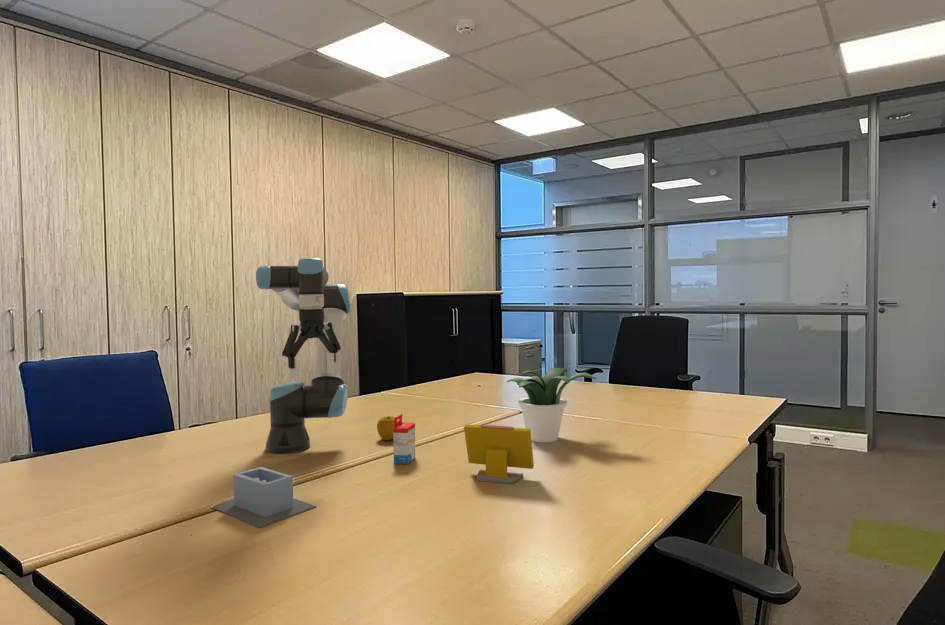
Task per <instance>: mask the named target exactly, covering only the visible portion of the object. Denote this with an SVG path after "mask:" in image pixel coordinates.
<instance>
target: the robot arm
mask: <svg viewBox="0 0 945 625" xmlns="http://www.w3.org/2000/svg"><path fill="white" fill-rule="evenodd" d="M323 262H324V261H323V259H322V258H314V257H313V258H307V257H306V258H305V257H304V258H303V257H301V258H300V259H298V261H297V265H270V264H269V265H261V266H259V267H257V269H256V271H255V272H256V273H255V281H256V285H257V288H259V289H260V290H272V291H273V292H274V293H276V295H278V296H279V297H280V298H281V301H282V302H283V304H284V305H285V306H286V307H288V308H289V309H291V310H294V311H296V312H298V318H299V320H298V321H299V322H300V323H299V325H297V324H291V325H290V332H289V334H288V337H287V338H286V342H285V345H284V348H283V350H282V352H281V356H282V357H285V358H287V361H288V362H287V363H288V365H287V366H288V369H290V380H296V381H291V382H290V381H289V382H284V383H280V384H277V385H274V386H272V388H270V392H269V414H270V415H269V417H270V428H269V432H268V436H267V439H266V442H265V451H266V452H268V453H271V454H291V453H298V452H302V451H306V450H307V449H309V448H310V447H311V439H310V436H309V434H308V431H307V428H306V426H305V424H306V422H305V421H306V420H305V419H320V418H322V419H325V418H326V419H327V418H329V419H331V418H340V417H342V416H343V415H344V414H345V412H346V408H347V404H348V394H349V386H348V385H347V384H345V380H344V378H342V377H341V364H342V363H341V362H342V340H343V339H342V338H343V321H345V320H346V318H347V316H348V315H349V314H351V312H352V309H351V299H350V291H349V288H348V286H347V285H346V284H343V283H341V284H340V283H328V282H329V273H328V271H327V270H326V268H325V267H324V263H323ZM347 314H348V315H347ZM314 338H315V339H318V342H317V357H316V373H315V374H316V375H315V376H314V377H313V378H311V383H310V385H305V382H304V381H302V380H300V381H299V364H298V363H299V360H298V357H297V355H298V353H299V352H300V350H301V349H302V347H303V345H304V344H305V342H306V341H308V339H314Z"/></svg>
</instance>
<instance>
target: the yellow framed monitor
mask: <svg viewBox="0 0 945 625" xmlns="http://www.w3.org/2000/svg"><path fill="white" fill-rule="evenodd" d="M463 431H464V437H465V445H466V446H465V447H466V451H467V452H466V454H467V459H468V464H476V465H485V469H481V468H480V469H479V470H478V473H477V475H476V481H479V482H486V483H487V482H489V483H497V484H498V483H499V484H509V485H513V484H514V483H515V482H517V481H519V480H520V479H521V478H523V477H524V473H522V472H521V473H520V472H512V471H508V467H509V468H517V469H531V470H533V469H534V467H535V463H534V454H533V453H534V451H533V441H531V430H530V429H526V427H525V428H523V427H520V428H519V427H514V426H505V425H494V424H493V425H492V424H490V425H489V424H481V425H477V424H465V425H464V427H463Z"/></svg>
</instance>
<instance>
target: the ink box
mask: <svg viewBox="0 0 945 625" xmlns="http://www.w3.org/2000/svg"><path fill="white" fill-rule="evenodd" d="M397 420H398V422H397ZM392 440H393V464H395V465H409V464H410V463H411V462H412V461H413V460H414V459H415V458H416V423H415V422H405V421H404V422H403V413H401V414H398V415H397V416H396V418H394V425H393V439H392Z"/></svg>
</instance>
